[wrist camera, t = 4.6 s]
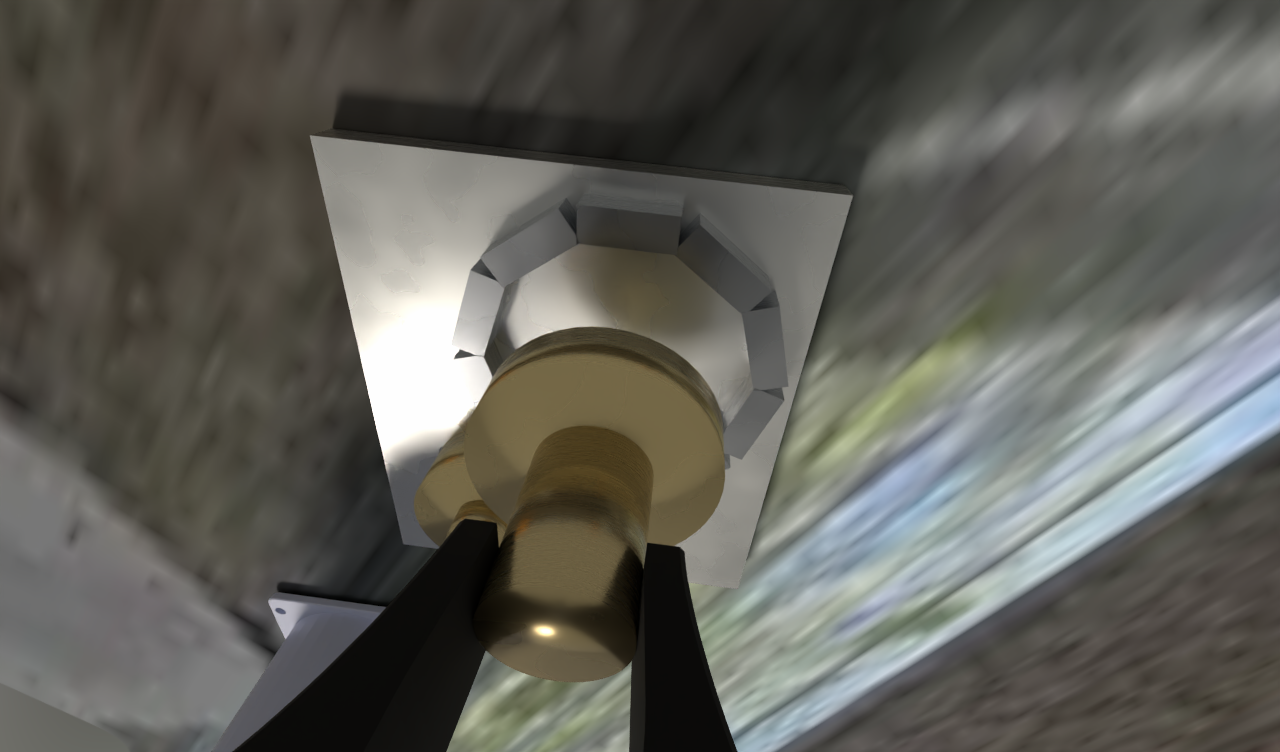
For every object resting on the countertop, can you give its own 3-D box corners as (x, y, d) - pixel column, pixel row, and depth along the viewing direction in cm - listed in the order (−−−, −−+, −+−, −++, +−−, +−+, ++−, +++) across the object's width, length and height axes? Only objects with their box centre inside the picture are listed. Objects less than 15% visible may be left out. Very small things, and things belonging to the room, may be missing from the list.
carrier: (736, 568, 24) (741, 660, 20) (413, 525, 24) (367, 608, 21) (844, 185, 15) (885, 236, 12) (331, 128, 15) (228, 162, 12)
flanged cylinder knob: (669, 538, 16) (655, 751, 12) (466, 473, 15) (365, 672, 11) (767, 381, 13) (801, 593, 8) (513, 287, 12) (398, 462, 7)
